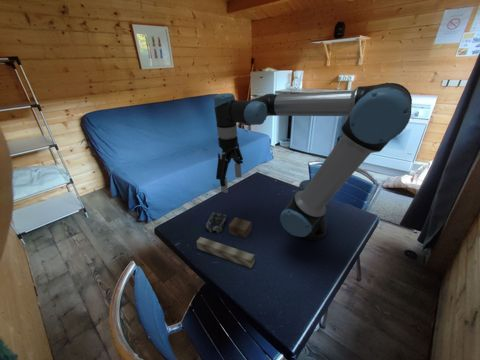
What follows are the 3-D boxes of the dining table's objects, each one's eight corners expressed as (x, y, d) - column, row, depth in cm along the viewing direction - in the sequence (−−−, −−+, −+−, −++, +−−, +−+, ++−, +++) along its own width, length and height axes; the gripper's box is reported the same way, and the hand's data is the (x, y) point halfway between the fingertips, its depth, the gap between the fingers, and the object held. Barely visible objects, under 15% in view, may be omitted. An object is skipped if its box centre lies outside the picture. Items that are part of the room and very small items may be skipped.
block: (251, 230, 101) (251, 222, 99) (245, 239, 97) (245, 230, 94) (235, 225, 105) (235, 217, 102) (229, 233, 100) (228, 225, 98)
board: (254, 262, 86) (254, 254, 84) (251, 268, 83) (251, 260, 82) (201, 243, 95) (200, 236, 93) (197, 248, 93) (196, 241, 91)
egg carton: (221, 234, 100) (220, 227, 98) (205, 232, 102) (204, 225, 100) (227, 219, 109) (227, 212, 107) (213, 217, 111) (212, 210, 109)
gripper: (232, 127, 98) (236, 170, 109) (201, 146, 79) (209, 197, 89) (248, 128, 96) (250, 172, 106) (220, 148, 76) (226, 201, 86)
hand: (232, 184), depth 97 cm, fingers open, 13 cm apart
